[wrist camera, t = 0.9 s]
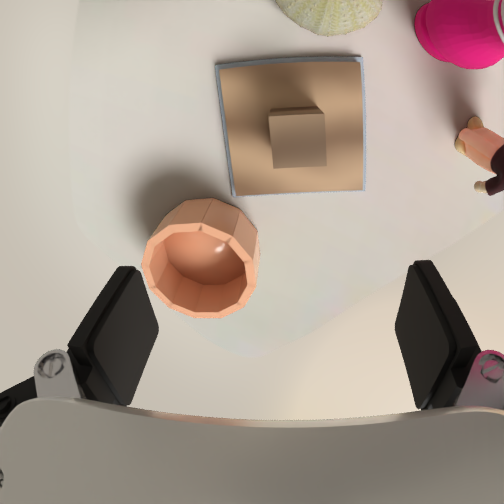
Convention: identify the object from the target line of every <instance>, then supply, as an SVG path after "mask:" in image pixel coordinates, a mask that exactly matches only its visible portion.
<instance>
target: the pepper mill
mask: <svg viewBox="0 0 504 504" xmlns="http://www.w3.org/2000/svg"><path fill="white" fill-rule="evenodd" d="M415 32H416V35H417V38H418V40H419V42H420V43H421V45H422V46H423V48H424V49H425V50H426V51H427V52H428V53H429V54H430V55H431V56H433V57H434V58H436V59H438V60H440V61H444V62H451V63H453V64H455V65H457V66H459V67H462V68H466V69H483V68H486V67H489V66H492V65H494V64H495V63H497V62H498V61H499V60H501V59H502V58H503V57H504V0H431V1H430V3H427V4H425V5H423V6H422V7H421V8H420V9H419V10H418V12H417V14H416V17H415Z"/></svg>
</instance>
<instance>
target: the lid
mask: <svg viewBox="0 0 504 504" xmlns="http://www.w3.org/2000/svg"><path fill="white" fill-rule="evenodd" d="M219 73H220V81H221V88H222V96H223V104H224V111H225V119H226V126H227V134H228V141H229V149H230V156H231V164H232V171H233V178H234V186H235V193H236V196H246V195H262V194H279V193H298V192H322V191H354V190H363V102H362V80H361V65H360V62H295V63H277V64H264V65H253V66H244V67H235V68H227V69H220V70H219Z"/></svg>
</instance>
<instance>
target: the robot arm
mask: <svg viewBox="0 0 504 504" xmlns="http://www.w3.org/2000/svg"><path fill="white" fill-rule="evenodd" d="M158 331H159V327H158V323H157V320H156V317H155V314H154V311H153V308H152V305H151V303H150V300H149V297H148V294H147V291H146V288H145V284H144V281H143V278H142V275H141V272H140V271H139V270H136V268H135V267H134V266H119V267H118V268H117V269H116V271H115V272H114V274H113V275H112V276H111V278H110V279H109V281H108V282H107V284H106V285H105V287H104V288H103V290H102V291H101V293H100V294H99V296H98V297H97V299H96V300H95V302H94V303H93V305H92V306H91V308H90V310H89V311H88V313H87V314H86V316H85V317H84V319H83V320H82V322H81V324H80V325H79V327H78V329H77V330H76V332H75V333H74V335H73V336H72V338H71V340H70V341H69V343H68V347H69V349H68V351H67V352H65V351H63V350H60V349H59V350H51V351H48V352H47V353H45V354H43V355H42V356H41V357H40V358H39V359H38V361H37V363H36V364H35V367H34V376H33V377H31V378H29V379H27V380H25V381H23V382H21V383H19V384H17V385H15V386H13V387H11V388H9V389H7V390H5V391H3V392H2V393H0V504H504V355H503V354H501V353H500V352H497V351H494V350H486V351H481V349H480V348H479V345H478V343H477V341H476V339H475V337H474V335H473V333H472V331H471V329H470V327H469V325H468V323H467V321H466V319H465V317H464V315H463V313H462V312H461V310H460V308H459V306H458V304H457V302H456V300H455V299H454V298H453V297H452V295H451V293H450V291H449V290H448V288H447V286H446V284H445V282H444V281H443V279H442V277H441V276H440V274H439V272H438V271H437V269H436V267H435V266H434V264H433V262H432V261H431V260H417V261H415V262H414V264H413V265H410V266H409V268H408V273H407V277H406V282H405V286H404V290H403V295H402V299H401V303H400V307H399V311H398V314H397V318H396V322H395V332H396V336H397V339H398V342H399V346H400V349H401V353H402V356H403V359H404V363H405V366H406V370H407V374H408V378H409V381H410V385H411V389H412V393H413V397H414V401H415V405H416V407H417V408H418V409H421V411H415V412H407V413H399V414H390V415H380V416H370V417H359V418H345V419H327V420H246V419H227V418H213V417H202V416H191V415H182V414H173V413H165V412H158V411H151V410H144V409H138V408H132V407H126V406H127V405H130V404H131V402H132V399H133V397H134V394H135V391H136V388H137V386H138V383H139V381H140V378H141V376H142V373H143V370H144V368H145V365H146V363H147V360H148V358H149V355H150V352H151V350H152V348H153V345H154V342H155V340H156V338H157V335H158Z"/></svg>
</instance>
